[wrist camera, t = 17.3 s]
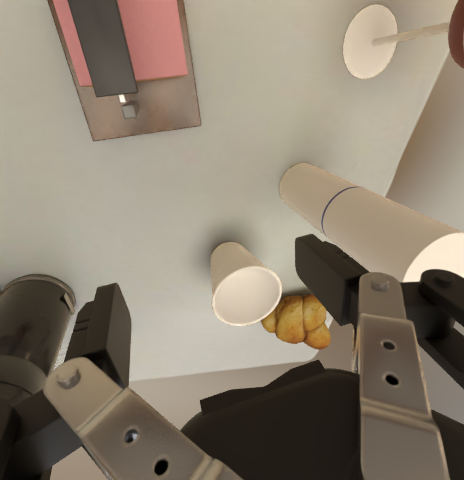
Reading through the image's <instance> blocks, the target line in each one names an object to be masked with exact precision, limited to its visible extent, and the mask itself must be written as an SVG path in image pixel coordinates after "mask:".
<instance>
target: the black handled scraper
mask: <svg viewBox="0 0 464 480" xmlns="http://www.w3.org/2000/svg"><path fill="white" fill-rule="evenodd" d="M67 1H68V4H69V8H70V11H71V14H72V18H73V21H74V24H75V28H76V31H77V34H78V38H79V41H80V44H81V48H82V51H83V54H84V58H85V61H86V64H87V68H88V71H89V74H90V78H91V81H92V85H93V88H94V91H95V95H96V97H106V96H114V95H118V96H119V100H120V103H124V102H127V101H129V100H130V99H131V97H130V94H131V93H138V92H139V90H138V86H137V82H136V77H135V73H134V69H133V64H132V60H131V56H130V51H129V47H128V43H127V38H126V34H125V30H124V26H123V21H122V17H121V13H120V8H119V4H118V0H67Z"/></svg>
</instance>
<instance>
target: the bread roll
mask: <svg viewBox="0 0 464 480" xmlns="http://www.w3.org/2000/svg"><path fill="white" fill-rule="evenodd" d="M325 320H326V309H325V307H324V306H323V305H322V304H321V303H320V302H319V300H318V299H317V298H316V297H315V296H314V294H307V295H304V296H299V295H297V296H295V295H294V296H287V297H285V298H283V299H282V300H281V301H280V302H279V303H278V304H277V306H276V307H275V309H274V310H273V311H272V312H271V313H270V314H269V315H268V316H266V317H265V318H263V319H262V320H261V323H262V325H263V327H264V328H265V329H266V330H267V331H268V332H270V333H276V336H277V338H279V339H280V340H282V341H284V342H288V343H292V344H297V343H299V342H304V343H305V344H307V345H308V346H310V347H312V348H315V349H324V348H326V347H327V346H328V345H329V343H330V340H331V336H330V333H329V330H328V328H327V326H326V324H325V323H324V322H325Z"/></svg>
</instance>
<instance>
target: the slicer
mask: <svg viewBox="0 0 464 480" xmlns="http://www.w3.org/2000/svg"><path fill="white" fill-rule="evenodd" d="M48 4H49V7H50V10H51V13H52V16H53V19H54V22H55V25H56V28H57V31H58V34H59V37H60V40H61V43H62V47H63V50H64V53H65V56H66V59H67V62H68V65H69V68H70V71H71V74H72V77H73V80H74V83H75V86H76V90H77V93H78V96H79V99H80V102H81V105H82V108H83V111H84V114H85V117H86V120H87V123H88V126H89V129H90V133H91V136H92V139H93V141H99V140H106V139H113V138H120V137H127V136H134V135H141V134H148V133H155V132H162V131H169V130H176V129H183V128H189V127H196V126H201V120H200V113H199V106H198V99H197V92H196V85H195V78H194V71H193V64H192V57H191V50H190V44H189V37H188V30H187V23H186V16H185V9H184V2H183V0H177V5H178V12H179V18H180V25H181V31H182V38H183V45H184V51H185V58H186V64H187V71H188V75H185V76H183V77H178V78H169V79H160V80H151V81H141V82H137V86H138V90H139V92H138V93H131V94H130V97H131V99H130V100H129V101H127V102H124V103H120V100H119V96H118V95H114V96H106V97H96V95H95V91H94V88H93V87H84V86H80V85H79V82H78V78H77V75H76V72H75V69H74V66H73V63H72V60H71V57H70V53H69V50H68V47H67V44H66V41H65V38H64V35H63V31H62V28H61V25H60V22H59V19H58V16H57V13H56V9H55V6H54V3H53V0H48Z"/></svg>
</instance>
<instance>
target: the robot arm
mask: <svg viewBox="0 0 464 480" xmlns="http://www.w3.org/2000/svg"><path fill="white" fill-rule="evenodd" d="M295 267H296V272H297V274H298V276H299V278H300V279H301V280H302V282H303V283H304V284H305V285H306V286H307V287H308V289H309V290H310V291H311V292H312V293H313V294H314V296H315V297H316V298H317V299H318V300H319V302H320V303H321V304H322V305H323V306H324V307H325V309H326V310H327V311H328V312H329V313H330V314H331V316H332V317H333V318H334V319H335V320H336V321H337V323H338V324H339V325H340V326H343V325H346V324H349V323H351V324H352V325H353V326H354V329H353V349H352V372H350V371H346V370H341V369H329V368H327V369H325V368H324V367H323V365H322V364H321V362H320V361H319V360H316V361H313V362H310V363H307V364H305V365H301V366H299V367H296V368H293V369H290V370H289V371H288V372H286V373H284V374H283V375H282V376H280V377H279V378H277V379H276V380H274V381H273V382H271V383H270V384H268V385H266V386H264V387H256V388H245V389H233V390H228V391H226V392H223V393H220V394H217V395H214V396H211V397H208V398H205V399H202V400H200V404H201V410H202V411H201V412H199V413H198V414H196V415H195V416H194V417H193V418H192V419H191V420H189V421H188V422H187V423H186V425H185V426H184V427H183V428H182V429H181V430H180V431H179V430H178V429H177V428H176V427H175V426H174V425H172V424H171V423H170V422H169V421H168V420H167V419H165V418H164V417H163V416H162V415H161V414H160V413H158V412H157V411H156V410H155V409H154V408H153V407H152V406H150V405H149V404H148V403H147V402H146V401H145V400H143V399H142V398H141V397H140V396H139V395H138V394H136V393H135V392H134V391H133V390H132V389H130V388H129V387H128V386H129V365H130V344H131V317H130V313H129V310H128V307H127V305H126V302H125V300H124V297H123V295H122V292H121V290H120V287H119V285H118V284H117V283H113V284H109V285H105V286H101V287H98V288H97V290H96V294H95V299H94V301H91V302H88V303H86V304H85V305H84V306H83V308H82V309H81V310H80V311H79V313H78V316H77V319H76V322H75V323H76V325H75V326H74V329H73V333H72V336H71V340H70V343H69V346H68V350H67V353H66V357H65V360H64V363H62V364H61V365H60V366H58V367H57V368H56V369H55V370H54V371H53V369H54V366H55V363H56V360H57V357H58V354H59V351H60V348H61V345H62V342H63V339H64V336H65V333H66V329H67V326H68V323H69V320H70V317H71V315H72V313H73V315H74V312H75V309H74V307H75V297H74V294H73V292H72V291H71V289H70V288H69V287H68V286H67V285H66V284H64V283H63V282H61V281H59V280H57V279H55V278H52V277H48V276H43V275H30V276H24V277H21V278H18V279H16V280H14V281H12V282H11V283H9V284H8V285H7V286H6V287H5V289H4V290H3V291H1V292H0V480H50V475H51V469H52V466H53V465H54V464H56V463H57V462H59V461H60V460H62V459H63V458H65V457H66V456H68V455H69V454H71V453H72V452H74V451H75V450H77V449H78V448H79V447H81V446H82V447H83V448H84V450H85V451H86V452H87V453H88V455H89V456H90V457H91V458H92V460H93V461H94V462H95V464H96V465H97V466H98V467H99V469H100V470H101V471H102V473H103V474H104V475H105V476H106V478H107V479H108V480H464V425H463V424H461V423H459V422H457V421H455V420H453V419H451V418H449V417H446V416H444V415H442V414H440V413H438V412H436V411H434V410H432V409H431V408H430V403H429V398H428V393H427V388H426V383H425V378H424V373H423V368H422V363H421V357H420V353H419V347H418V344H419V345H420V346H421V347H422V348H423V349H424V350H425V351H426V352H427V353H428V354H429V355H430V356H431V357H432V358H433V359H434V360H435V361H436V362H437V363H438V364H439V365H440V366H441V367H442V368H443V369H444V370H445V371H446V372H447V373H448V374H449V375H450V376H451V377H452V378H453V379H454V380H455V381H456V382H457V383H458V384H459V385H460V386H461V387H462V388H463V389H464V336H463V335H462V334H461V333H460V332H458V331H457V330H456V329H455V328H453V326H454V323H455V321H457V322H458V323H459V324H461V325H462V326H463V327H464V278H463V277H461V276H459V275H458V274H456V273H453V272H450V271H447V270H442V269H429V270H426V271H424V272H423V273H422V274H421V278H420V281H419V282H399V281H398V280H397V279H396V278H394V277H393V276H391V275H388V274H385V273H380V272H369V271H368V270H367V269H365V268H364V267H363V266H362V265H360V264H359V263H358V262H356V261H355V260H354V259H353V258H351V257H349V255H347V254H346V253H345V252H343V251H342V250H341V249H340V248H339V247H337V246H336V245H334V244H331V243H328V242H326V241H324V242H322V241H321V240H320V239H318V238H317V237H316V236H315V235H313V234H309V235H305V236H301V237H297V238H296V240H295Z"/></svg>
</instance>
